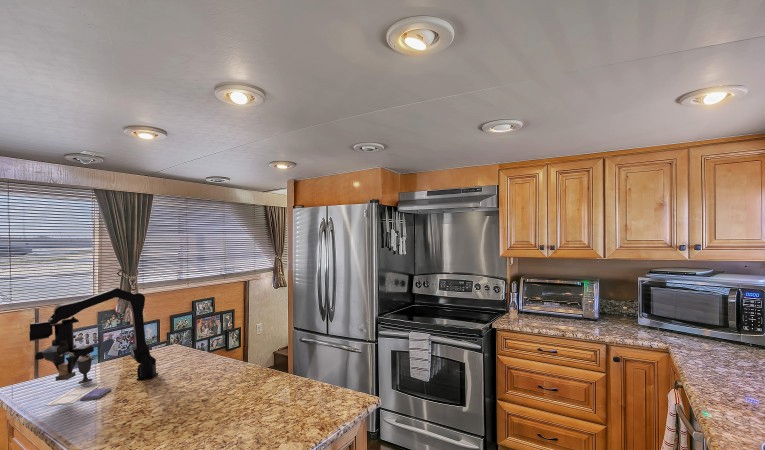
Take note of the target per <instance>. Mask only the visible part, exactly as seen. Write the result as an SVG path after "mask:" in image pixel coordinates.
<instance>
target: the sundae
mask: <svg viewBox="0 0 765 450" xmlns="http://www.w3.org/2000/svg"><path fill="white" fill-rule="evenodd" d="M93 359H95V358H94V356H92V355H91V353H89V354H87V355H85V356H80V357H79V359H78V360H77V362H76V365H77V368H78V372H79V373H80V374H81V375H83V377H82V380H79V381H78V384H87V383H89V382H91V381H92V380H93V378H88V373H89V372H90V371H91V369H92V361H93ZM86 382H87V383H86Z"/></svg>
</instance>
